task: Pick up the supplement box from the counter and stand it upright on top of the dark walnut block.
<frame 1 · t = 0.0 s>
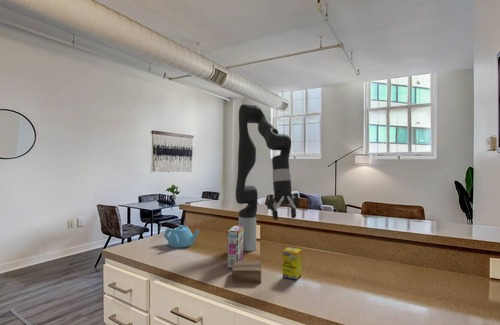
hand: (284, 219, 122), 22 cm above the counter, tool pointing down, fingers open, 8 cm apart
teapot: (181, 245, 162), on the counter
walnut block: (247, 277, 117), on the counter
candy bar box: (235, 264, 131), on the counter
supplement box: (292, 277, 117), on the counter
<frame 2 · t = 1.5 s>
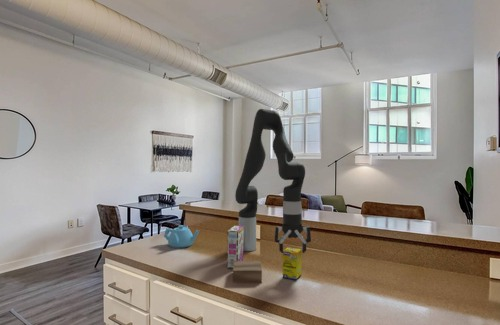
hand: (292, 252, 117), 10 cm above the counter, tool pointing down, fingers open, 8 cm apart
supplement box: (292, 277, 117), on the counter, touching gripper
everything else where it was.
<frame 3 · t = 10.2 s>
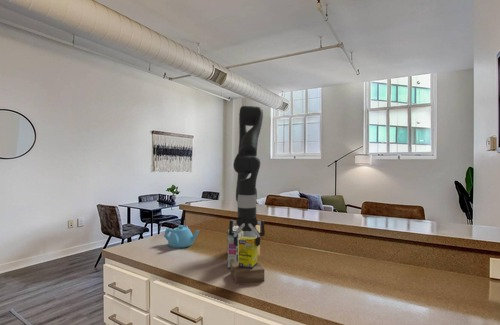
hand: (246, 245, 117), 12 cm above the counter, tool pointing down, fingers open, 8 cm apart
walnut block: (246, 278, 117), on the counter, touching supplement box
supplement box: (248, 266, 117), point 4 cm above the counter, touching gripper, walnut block
everything else where it was.
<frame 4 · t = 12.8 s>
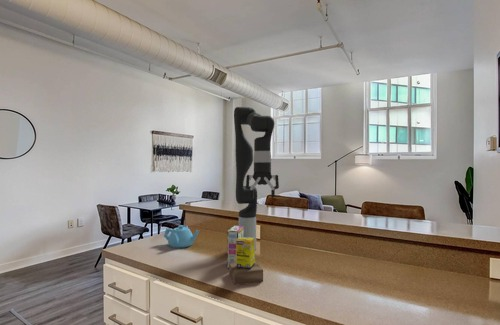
hand: (262, 198, 127), 30 cm above the counter, tool pointing down, fingers open, 8 cm apart
supplement box: (245, 266, 116), point 4 cm above the counter, touching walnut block
everything else where it was.
at the end: supplement box 0.2 cm off-centre on the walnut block, point 4.8 cm above the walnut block's base; supplement box tilted 0°; the gripper is holding nothing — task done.
